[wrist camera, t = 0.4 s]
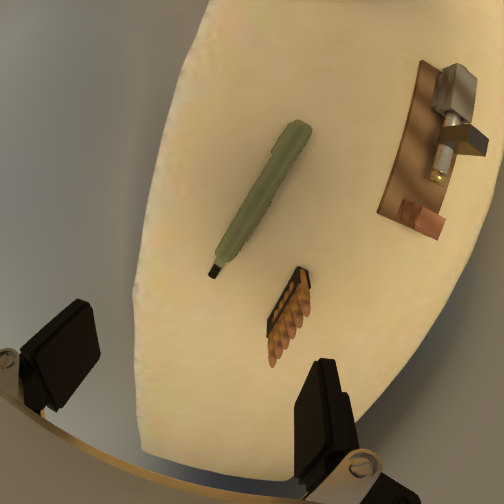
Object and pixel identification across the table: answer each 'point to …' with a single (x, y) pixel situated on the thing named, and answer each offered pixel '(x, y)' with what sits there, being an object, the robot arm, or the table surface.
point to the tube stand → (426, 147)
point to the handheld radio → (261, 193)
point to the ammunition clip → (288, 314)
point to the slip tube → (455, 145)
